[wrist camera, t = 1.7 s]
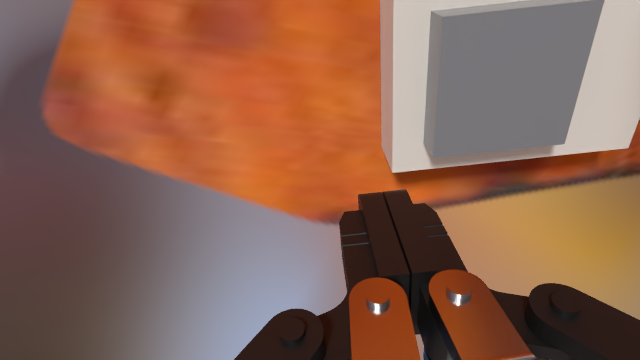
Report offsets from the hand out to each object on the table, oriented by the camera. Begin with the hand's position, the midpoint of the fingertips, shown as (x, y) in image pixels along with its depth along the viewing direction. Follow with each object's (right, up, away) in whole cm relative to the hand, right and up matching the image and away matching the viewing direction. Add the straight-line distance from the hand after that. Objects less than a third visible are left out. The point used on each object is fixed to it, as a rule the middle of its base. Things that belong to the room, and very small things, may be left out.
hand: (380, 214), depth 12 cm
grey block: (+8, +7, +10) cm, 15 cm away
